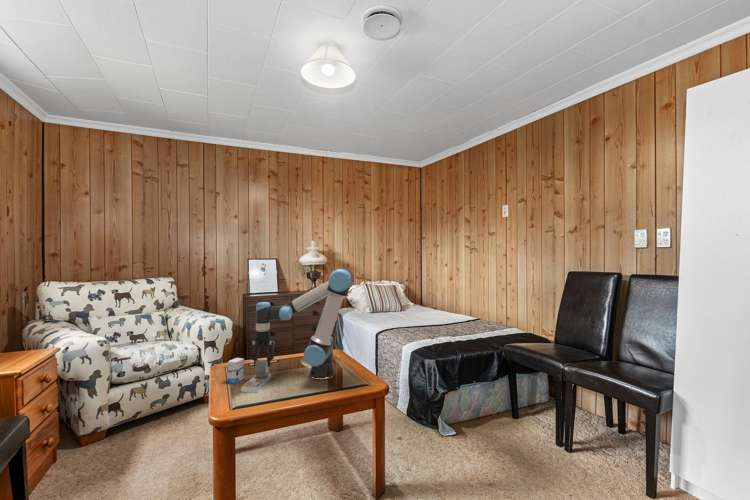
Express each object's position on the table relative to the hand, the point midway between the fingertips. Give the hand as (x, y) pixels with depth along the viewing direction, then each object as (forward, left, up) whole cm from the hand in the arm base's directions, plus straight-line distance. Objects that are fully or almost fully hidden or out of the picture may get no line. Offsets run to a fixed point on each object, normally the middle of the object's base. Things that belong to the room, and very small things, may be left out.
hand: (262, 372), depth 201 cm
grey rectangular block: (0, 0, -4) cm, 4 cm away
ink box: (+14, +2, -5) cm, 15 cm away
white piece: (0, +6, -5) cm, 8 cm away
